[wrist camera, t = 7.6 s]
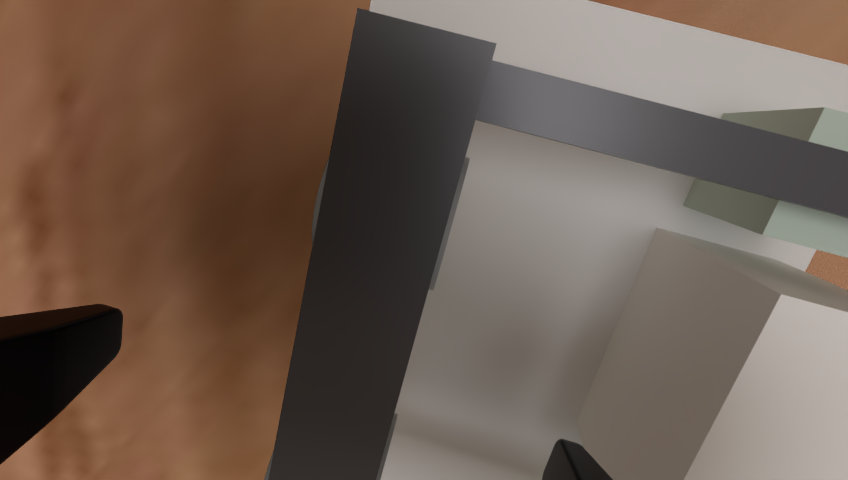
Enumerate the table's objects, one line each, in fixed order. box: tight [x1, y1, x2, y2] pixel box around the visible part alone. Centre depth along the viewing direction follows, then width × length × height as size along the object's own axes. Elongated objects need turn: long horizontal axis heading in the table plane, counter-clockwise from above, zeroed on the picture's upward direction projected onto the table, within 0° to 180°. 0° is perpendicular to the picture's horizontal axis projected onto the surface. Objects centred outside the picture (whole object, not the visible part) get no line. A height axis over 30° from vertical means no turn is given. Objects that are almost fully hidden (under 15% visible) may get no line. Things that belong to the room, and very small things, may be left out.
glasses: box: [264, 8, 848, 480], centre depth 10 cm, size 12×14×3 cm
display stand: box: [369, 0, 848, 480], centre depth 13 cm, size 16×20×7 cm
